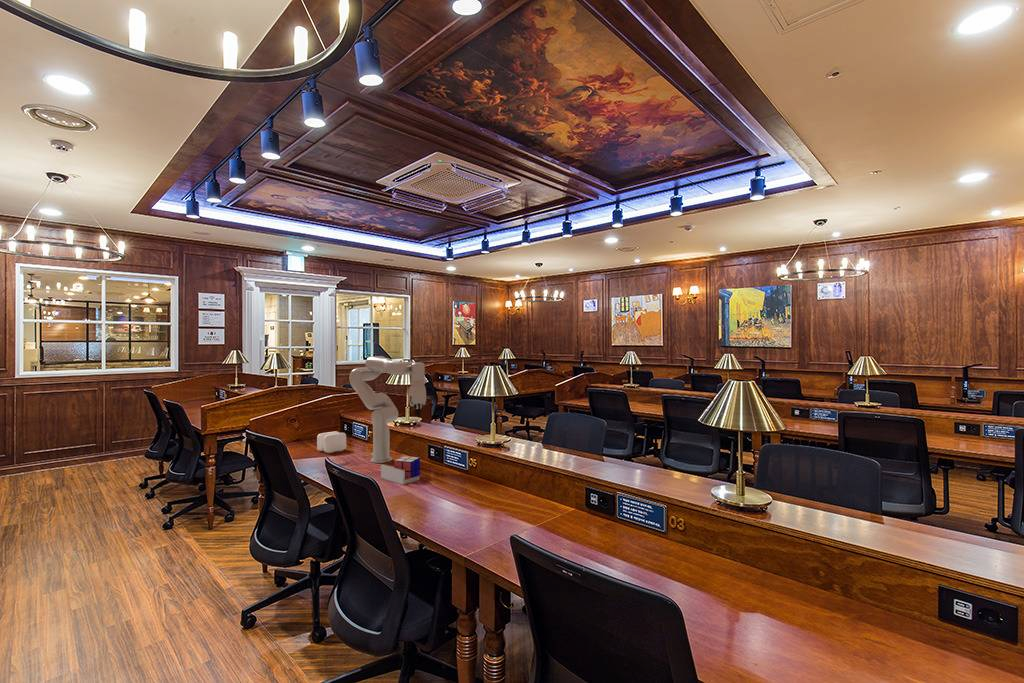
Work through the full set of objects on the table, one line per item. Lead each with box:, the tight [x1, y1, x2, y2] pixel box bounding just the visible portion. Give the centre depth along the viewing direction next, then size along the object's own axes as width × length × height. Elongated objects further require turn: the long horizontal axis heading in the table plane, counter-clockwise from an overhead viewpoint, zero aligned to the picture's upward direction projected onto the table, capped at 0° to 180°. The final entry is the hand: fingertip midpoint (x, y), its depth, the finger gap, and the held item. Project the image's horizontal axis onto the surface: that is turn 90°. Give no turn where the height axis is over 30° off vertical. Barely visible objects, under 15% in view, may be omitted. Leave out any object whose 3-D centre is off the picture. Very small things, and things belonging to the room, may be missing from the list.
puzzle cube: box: [393, 455, 421, 479], centre depth 246 cm, size 10×10×10 cm
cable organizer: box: [316, 430, 347, 454], centre depth 303 cm, size 15×11×12 cm
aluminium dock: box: [380, 463, 421, 486], centre depth 244 cm, size 18×11×7 cm, turn 51°
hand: (417, 415), depth 268 cm, fingers closed
